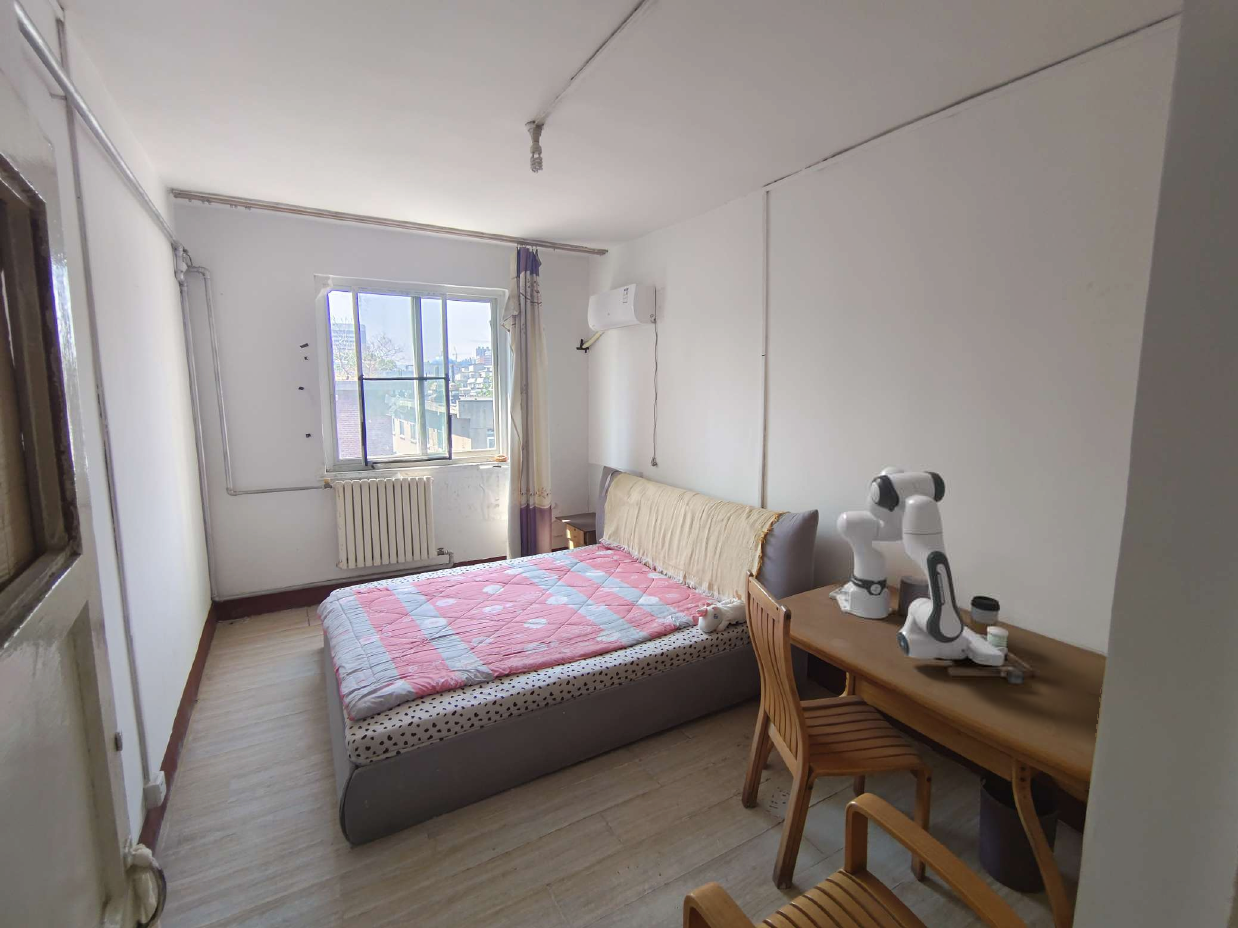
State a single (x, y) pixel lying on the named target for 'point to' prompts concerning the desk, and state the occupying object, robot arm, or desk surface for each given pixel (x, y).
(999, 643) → the mint green tumbler
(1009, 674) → the beam slot
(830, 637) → the desk surface
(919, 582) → the pillar candle
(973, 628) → the coffee cup
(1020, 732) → the desk surface
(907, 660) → the desk surface
